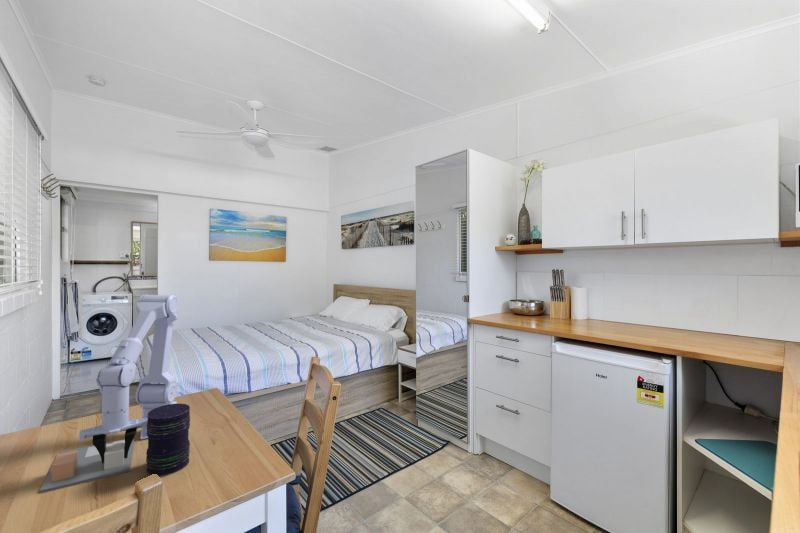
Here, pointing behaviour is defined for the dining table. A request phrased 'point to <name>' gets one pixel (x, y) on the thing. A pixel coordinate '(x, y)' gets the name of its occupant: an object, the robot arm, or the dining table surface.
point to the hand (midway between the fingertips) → (115, 459)
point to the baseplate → (88, 468)
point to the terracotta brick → (64, 466)
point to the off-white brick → (114, 455)
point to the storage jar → (168, 439)
